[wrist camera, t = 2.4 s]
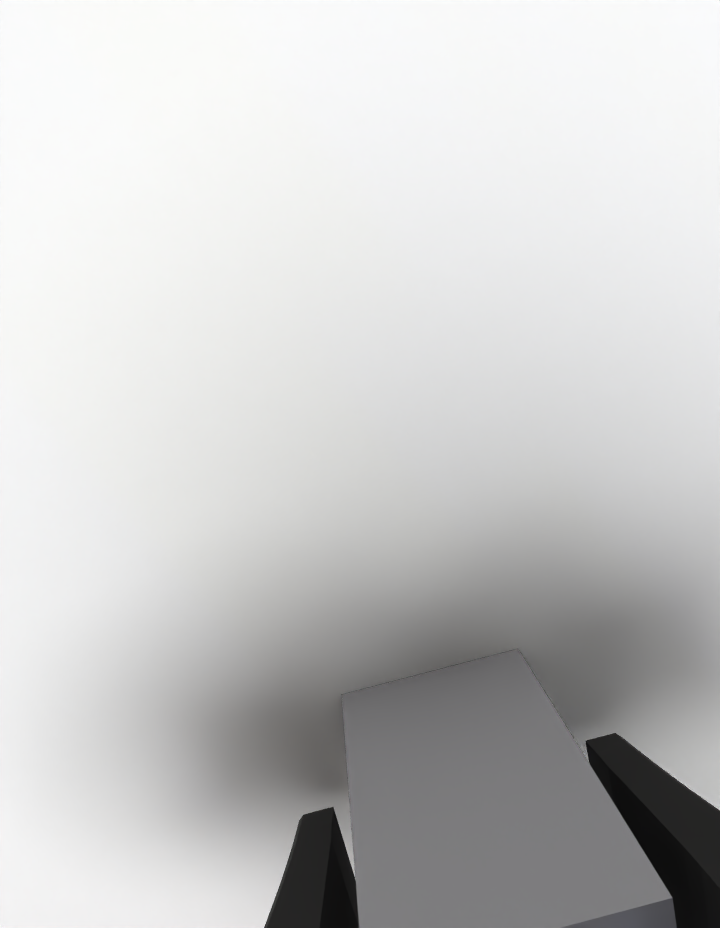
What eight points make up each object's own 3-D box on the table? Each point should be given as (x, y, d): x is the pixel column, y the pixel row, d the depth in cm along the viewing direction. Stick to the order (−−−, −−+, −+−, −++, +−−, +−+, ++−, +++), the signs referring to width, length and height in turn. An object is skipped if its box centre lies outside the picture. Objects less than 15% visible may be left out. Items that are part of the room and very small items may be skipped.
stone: (517, 648, 14) (672, 898, 8) (547, 795, 15) (703, 1115, 9) (341, 694, 13) (363, 980, 8) (382, 838, 14) (429, 1190, 9)
